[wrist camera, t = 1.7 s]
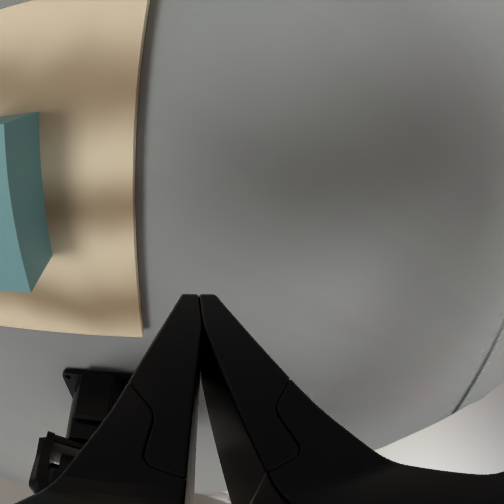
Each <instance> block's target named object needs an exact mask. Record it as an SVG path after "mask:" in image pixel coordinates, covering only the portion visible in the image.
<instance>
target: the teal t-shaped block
mask: <svg viewBox="0 0 504 504" xmlns="http://www.w3.org/2000/svg"><path fill="white" fill-rule="evenodd" d="M52 256H53V255H52V250H51V244H50V238H49V232H48V226H47V219H46V211H45V204H44V195H43V185H42V174H41V160H40V137H39V112H31V113H23V114H15V115H9V116H2V117H0V291H11V292H23V293H31V292H32V291H33V289H34V287H35V285H36V283H37V281H38V280H39V278H40V276H41V274H42V273H43V271H44V269H45V268H46V266H47V264H48V263H49V261H50V259H51V258H52Z"/></svg>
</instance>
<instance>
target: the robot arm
mask: <svg viewBox="0 0 504 504" xmlns="http://www.w3.org/2000/svg"><path fill="white" fill-rule="evenodd" d="M200 374H201V381H202V386H203V391H204V396H205V400H206V405H207V409H208V414H209V418H210V422H211V427H212V431H213V435H214V439H215V443H216V447H217V451H218V455H219V459H220V463H221V467H222V471H223V474H224V478H225V482H226V485H227V489H228V493H229V496H230V500H231V503H232V504H504V472H501V473H498V474H489V475H476V474H465V473H456V472H448V471H440V470H433V469H425V468H420V467H414V466H408V465H403V464H399V463H396V462H393V461H391V460H389V459H386V458H385V457H382V456H381V455H379V454H378V453H376V452H375V451H373V450H372V449H371V448H369V447H368V446H367V445H365V444H364V443H363V442H361V441H360V440H359V439H358V438H356V437H355V436H354V435H352V434H351V433H350V432H349V431H347V430H346V429H345V428H343V427H342V426H341V425H340V424H338V423H337V422H336V421H335V420H333V419H332V418H331V417H330V416H329V415H327V414H326V413H325V412H324V411H323V410H322V409H320V408H319V407H318V406H317V405H316V404H315V403H314V402H313V401H312V400H311V399H310V398H309V397H308V396H307V395H306V394H305V393H304V392H303V391H302V390H301V389H300V388H299V387H298V386H297V385H296V384H295V383H294V382H293V381H292V380H289V377H288V376H287V375H286V374H285V373H284V371H283V370H282V369H281V368H280V367H279V366H278V365H277V364H276V363H275V362H274V361H273V359H272V358H271V357H270V356H269V355H268V354H267V353H266V352H265V351H264V350H263V348H262V347H261V346H260V345H259V344H258V343H257V342H256V341H255V340H254V338H253V337H252V336H251V335H250V334H249V333H248V332H247V331H246V329H245V328H244V327H243V326H242V325H241V324H240V323H239V321H238V320H237V319H236V318H235V317H234V316H233V315H232V313H231V312H230V311H229V310H228V309H227V308H226V307H225V305H224V304H223V303H222V302H221V301H220V300H219V298H218V297H217V296H216V295H213V294H201V295H200V296H198V295H197V294H183V295H182V296H181V297H180V299H179V300H178V302H177V303H176V305H175V307H174V308H173V310H172V311H171V313H170V315H169V316H168V318H167V319H166V321H165V323H164V324H163V326H162V327H161V329H160V331H159V332H158V334H157V336H156V337H155V339H154V340H153V342H152V344H151V345H150V347H149V349H148V350H147V352H146V354H145V355H144V357H143V359H142V360H141V362H140V364H139V365H138V367H137V369H136V370H135V372H134V374H120V373H104V372H92V371H80V370H70V369H65V370H64V371H63V378H64V380H65V383H66V385H67V387H68V389H69V391H70V393H71V396H72V398H73V400H72V406H71V411H70V416H69V422H68V428H67V434H66V438H64V437H61V436H58V435H55V433H52V432H49V431H48V433H47V437H43V438H39V443H38V449H37V454H36V458H35V462H34V465H33V469H32V472H31V476H30V480H29V487H30V488H31V490H32V491H33V493H34V495H32V496H30V497H28V498H26V499H24V500H21V501H19V502H17V503H15V504H194V485H195V460H196V439H197V421H198V405H199V390H200ZM54 461H55V462H58V463H60V464H59V465H57V464H54Z"/></svg>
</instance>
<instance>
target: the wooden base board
mask: <svg viewBox="0 0 504 504" xmlns="http://www.w3.org/2000/svg"><path fill="white" fill-rule="evenodd" d="M149 5H150V0H33V1H29V2H25V3H21V4H17V5H14V6H10V7H7V8H4V9H0V117H2V116H9V115H15V114H23V113H31V112H39V137H40V160H41V174H42V185H43V195H44V204H45V211H46V219H47V226H48V232H49V238H50V244H51V250H52V255H53V256H52V258H51V259H50V261H49V263H48V264H47V266H46V268H45V269H44V271H43V273H42V274H41V276H40V278H39V280H38V281H37V283H36V285H35V287H34V289H33V291H32V292H31V293H23V292H11V291H0V326H7V327H15V328H24V329H33V330H42V331H52V332H63V333H76V334H89V335H106V336H125V337H143V321H142V312H141V301H140V290H139V277H138V262H137V243H136V214H135V157H136V129H137V110H138V96H139V84H140V73H141V63H142V54H143V46H144V38H145V31H146V24H147V17H148V11H149Z"/></svg>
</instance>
